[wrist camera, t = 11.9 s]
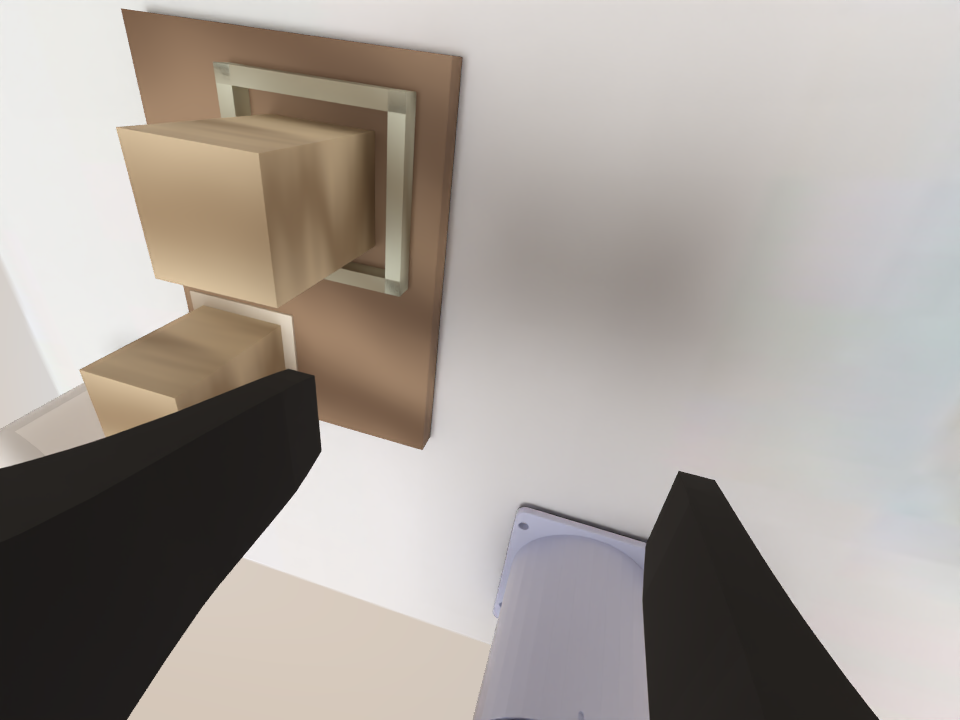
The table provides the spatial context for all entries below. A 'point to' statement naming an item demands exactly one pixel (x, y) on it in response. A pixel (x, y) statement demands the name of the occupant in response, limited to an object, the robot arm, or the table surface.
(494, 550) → the table surface
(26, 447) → the eye dropper bottle
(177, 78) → the board
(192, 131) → the maple peg
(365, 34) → the table surface
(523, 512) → the robot arm
